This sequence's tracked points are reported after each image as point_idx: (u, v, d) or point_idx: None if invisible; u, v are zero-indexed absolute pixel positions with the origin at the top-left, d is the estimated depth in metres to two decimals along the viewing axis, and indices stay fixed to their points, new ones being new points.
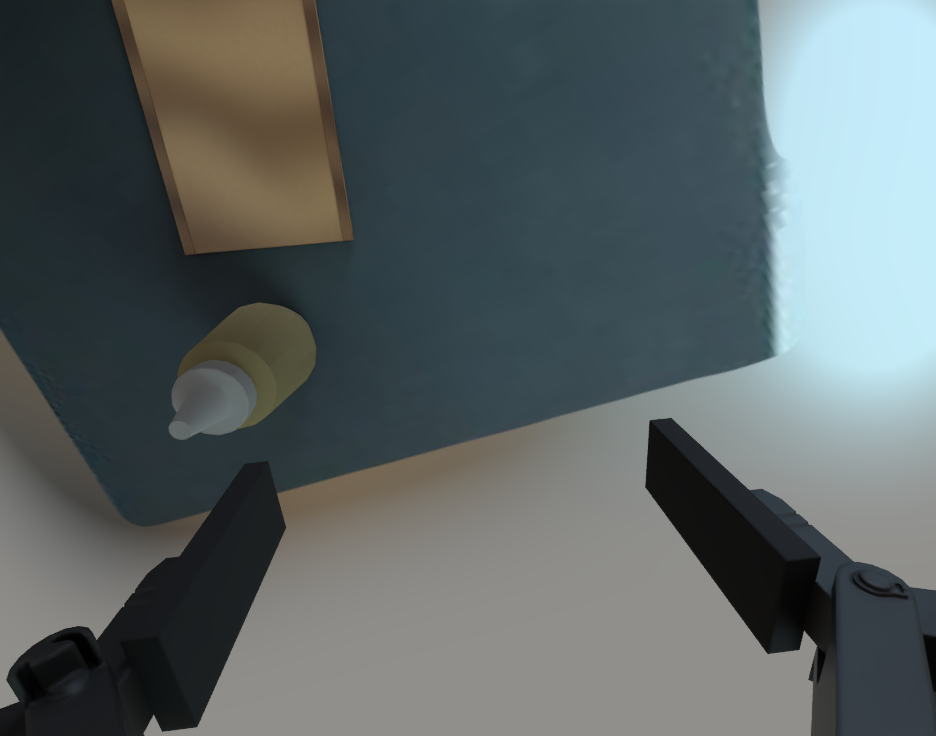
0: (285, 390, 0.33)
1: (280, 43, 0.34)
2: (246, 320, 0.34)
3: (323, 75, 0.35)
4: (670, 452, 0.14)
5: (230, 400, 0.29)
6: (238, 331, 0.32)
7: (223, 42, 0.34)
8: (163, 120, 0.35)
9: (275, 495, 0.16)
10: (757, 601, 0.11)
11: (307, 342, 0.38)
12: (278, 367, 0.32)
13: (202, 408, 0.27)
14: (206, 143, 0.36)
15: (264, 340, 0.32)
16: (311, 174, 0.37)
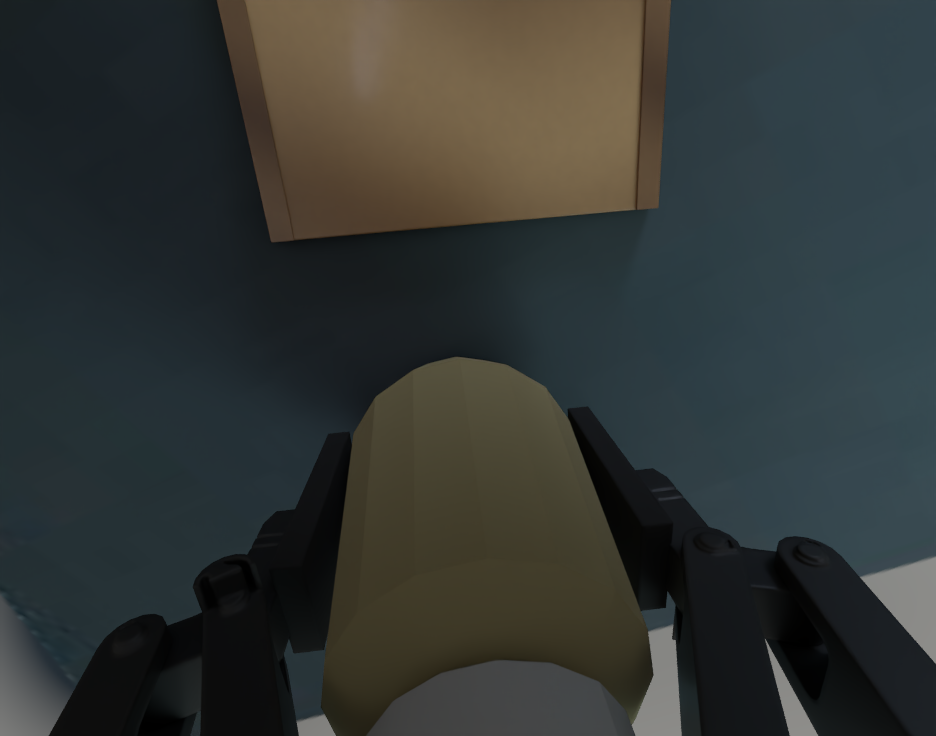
0: None
1: None
2: (488, 428, 0.11)
3: None
4: (579, 437, 0.16)
5: None
6: (509, 486, 0.10)
7: None
8: None
9: None
10: (630, 565, 0.12)
11: None
12: None
13: None
14: None
15: (580, 508, 0.10)
16: (591, 41, 0.15)
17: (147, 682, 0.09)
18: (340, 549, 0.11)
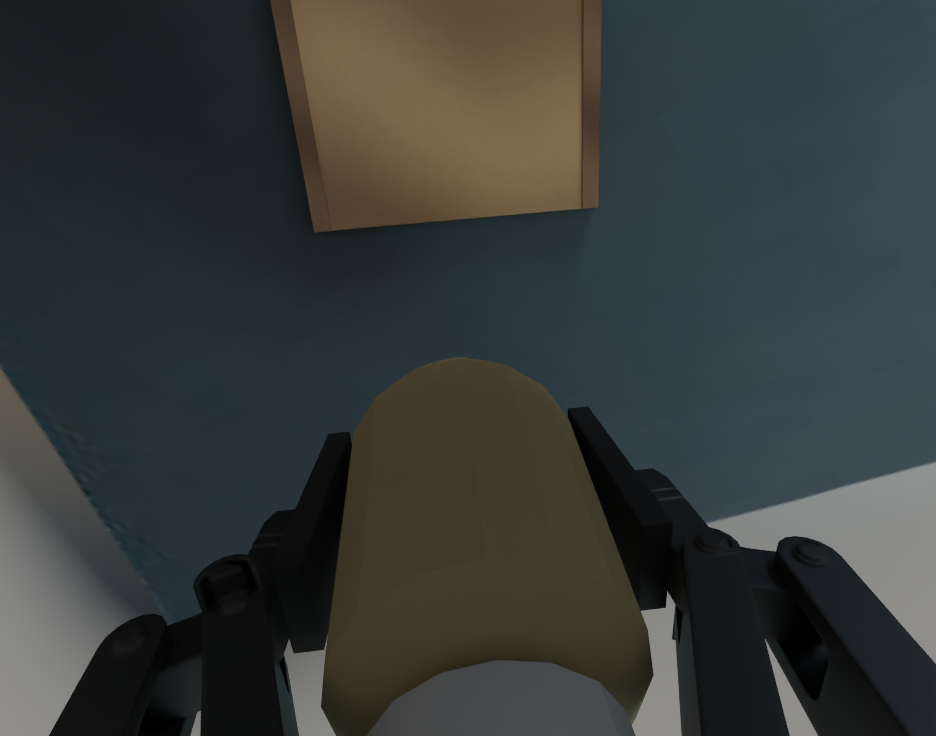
0: None
1: None
2: (488, 428, 0.11)
3: None
4: (579, 437, 0.16)
5: None
6: (509, 487, 0.10)
7: None
8: None
9: None
10: (630, 565, 0.12)
11: None
12: None
13: None
14: (369, 26, 0.20)
15: (580, 508, 0.10)
16: (545, 88, 0.21)
17: (147, 682, 0.09)
18: (340, 549, 0.11)
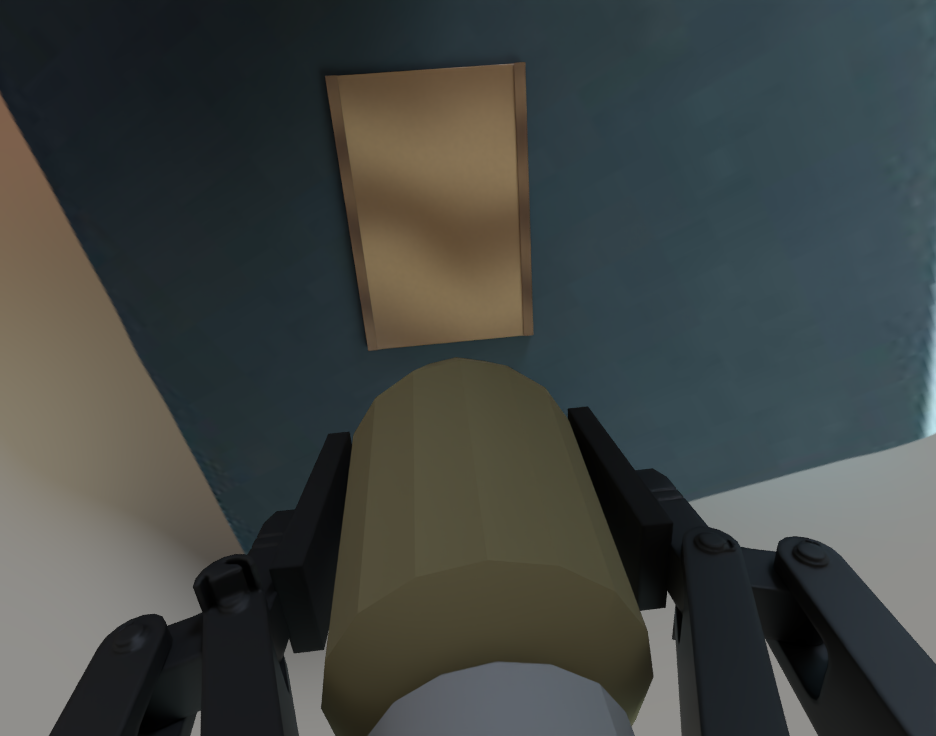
0: None
1: (488, 153, 0.34)
2: (488, 430, 0.12)
3: (526, 182, 0.35)
4: (579, 437, 0.16)
5: None
6: (509, 488, 0.10)
7: (433, 152, 0.34)
8: (364, 225, 0.35)
9: None
10: (630, 565, 0.12)
11: None
12: None
13: None
14: (403, 246, 0.36)
15: (580, 510, 0.10)
16: (500, 274, 0.37)
17: (147, 682, 0.09)
18: (340, 550, 0.11)
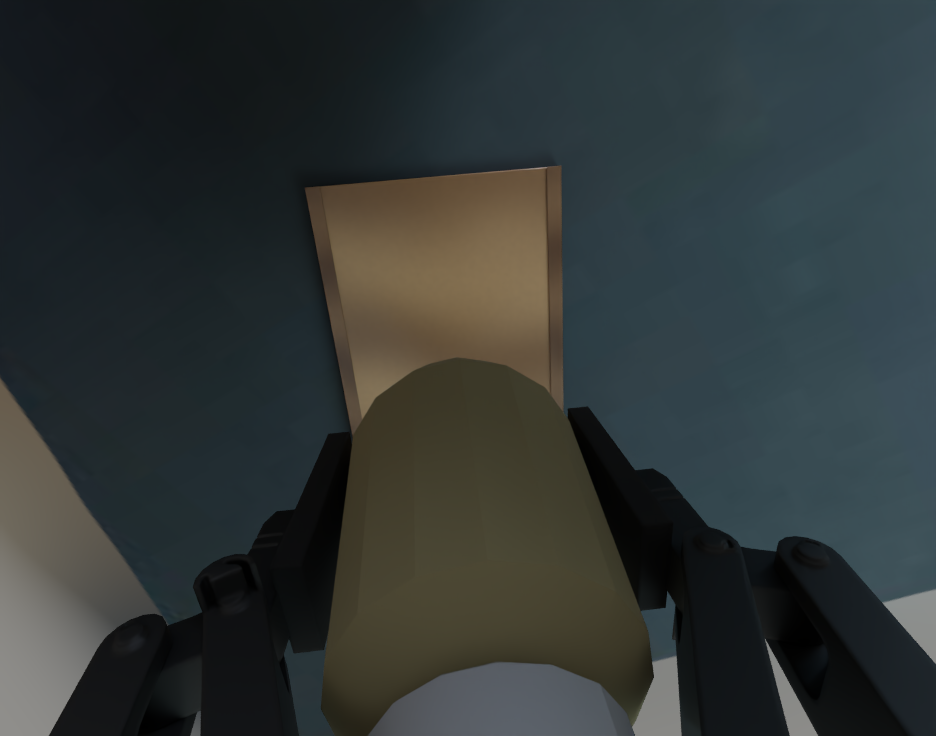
0: None
1: (512, 273, 0.27)
2: (488, 430, 0.11)
3: (559, 306, 0.28)
4: (579, 437, 0.16)
5: None
6: (509, 488, 0.10)
7: (443, 274, 0.27)
8: (357, 358, 0.28)
9: None
10: (630, 564, 0.12)
11: None
12: None
13: None
14: None
15: (580, 509, 0.10)
16: None
17: (147, 682, 0.09)
18: (340, 550, 0.11)
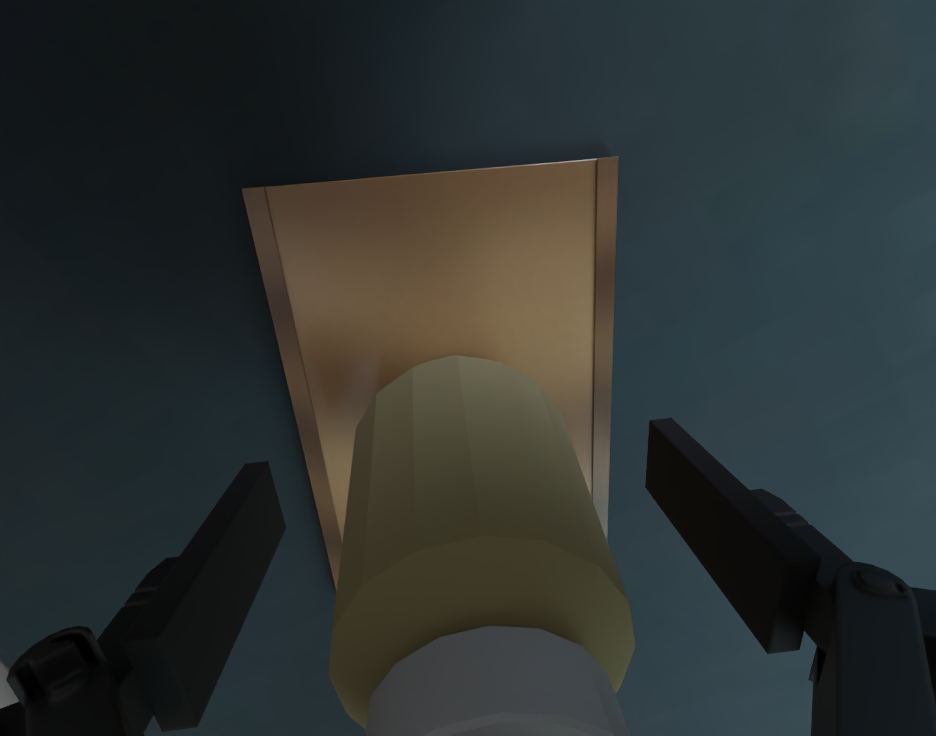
0: None
1: (544, 310, 0.19)
2: (483, 421, 0.12)
3: (608, 355, 0.20)
4: (670, 452, 0.14)
5: None
6: (502, 473, 0.10)
7: (446, 312, 0.19)
8: (326, 427, 0.20)
9: (275, 494, 0.16)
10: (757, 601, 0.11)
11: None
12: None
13: None
14: None
15: (568, 494, 0.11)
16: None
17: None
18: (345, 533, 0.11)
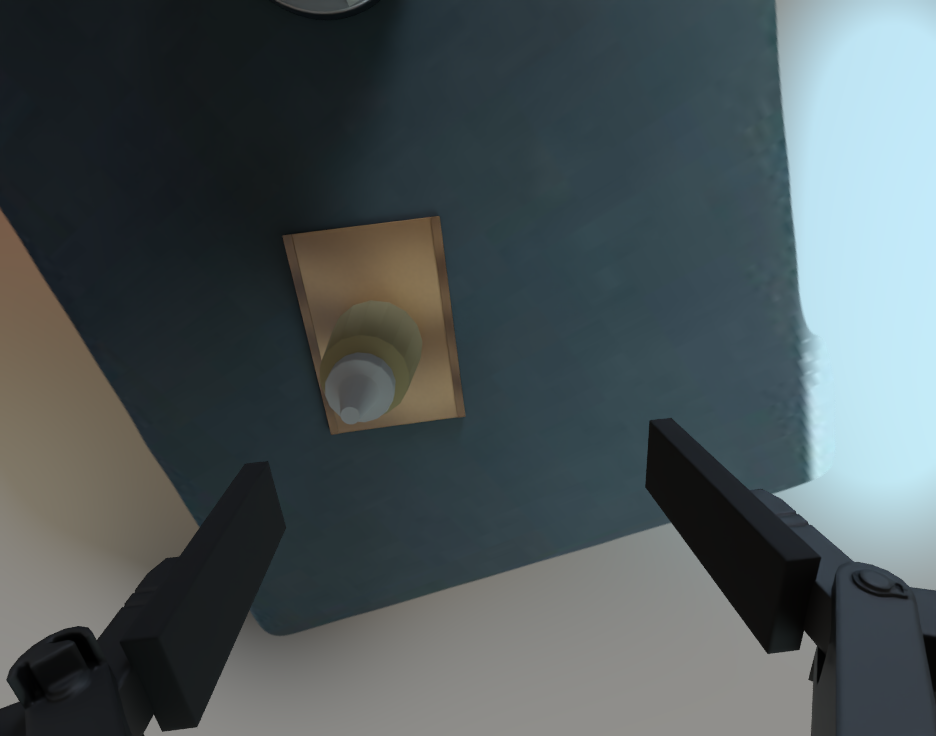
0: (411, 380, 0.36)
1: (416, 282, 0.43)
2: (371, 316, 0.36)
3: (448, 303, 0.44)
4: (669, 452, 0.14)
5: (379, 389, 0.31)
6: (371, 326, 0.34)
7: (372, 285, 0.43)
8: (321, 340, 0.44)
9: (275, 495, 0.16)
10: (757, 601, 0.11)
11: (417, 336, 0.40)
12: (408, 358, 0.34)
13: (363, 396, 0.29)
14: None
15: (393, 334, 0.35)
16: (434, 371, 0.46)
17: None
18: (325, 352, 0.35)
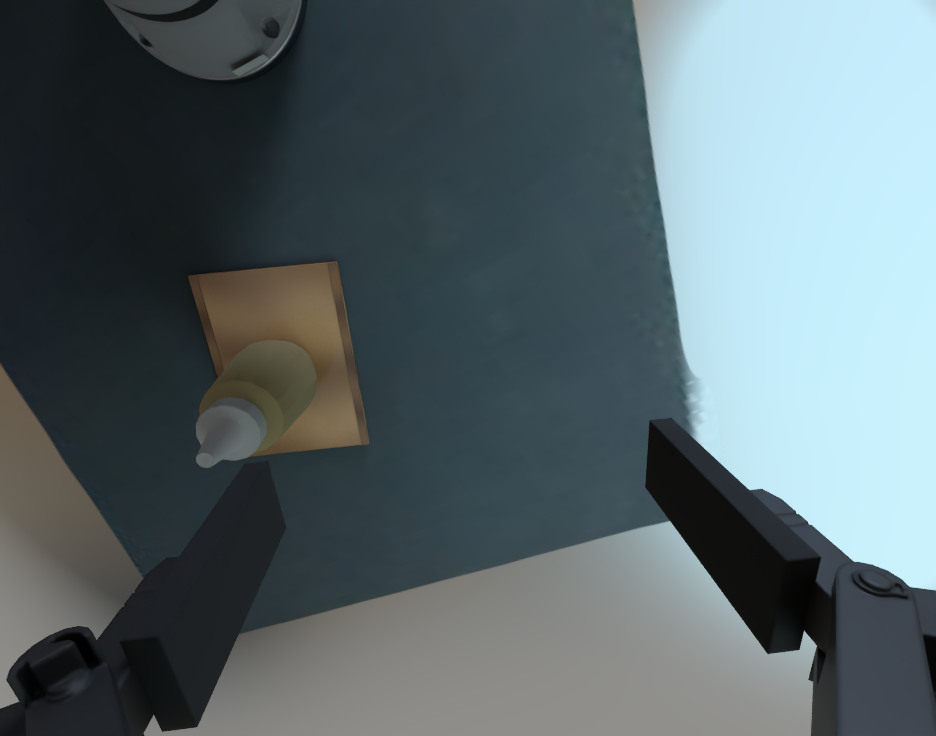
0: (290, 419, 0.39)
1: (316, 321, 0.46)
2: (257, 358, 0.39)
3: (348, 340, 0.47)
4: (669, 452, 0.14)
5: (245, 432, 0.34)
6: (251, 370, 0.37)
7: (275, 322, 0.46)
8: None
9: (275, 494, 0.16)
10: (757, 601, 0.11)
11: (309, 374, 0.43)
12: (284, 400, 0.38)
13: (223, 441, 0.32)
14: None
15: (272, 377, 0.38)
16: (337, 402, 0.49)
17: None
18: None
